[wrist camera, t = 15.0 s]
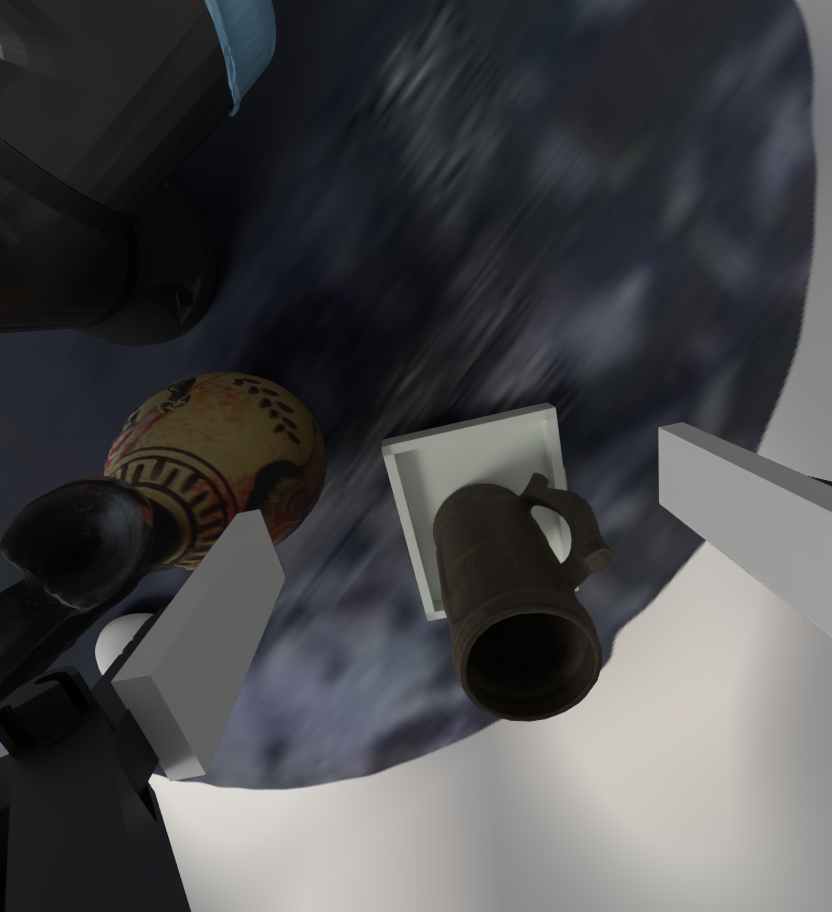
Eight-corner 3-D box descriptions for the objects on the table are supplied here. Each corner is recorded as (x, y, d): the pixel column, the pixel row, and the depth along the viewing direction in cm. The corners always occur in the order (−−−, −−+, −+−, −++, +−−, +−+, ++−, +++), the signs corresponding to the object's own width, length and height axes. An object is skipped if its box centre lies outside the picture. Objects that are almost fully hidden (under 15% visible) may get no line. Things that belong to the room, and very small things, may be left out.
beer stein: (500, 588, 49) (570, 748, 30) (414, 557, 48) (428, 705, 28) (563, 469, 46) (686, 562, 26) (472, 431, 44) (533, 502, 25)
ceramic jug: (238, 326, 40) (-166, 362, 12) (368, 429, 44) (296, 649, 15) (147, 457, 44) (-322, 722, 16) (272, 543, 48) (73, 886, 19)
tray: (426, 606, 51) (427, 621, 48) (382, 439, 44) (381, 446, 42) (573, 576, 50) (581, 590, 47) (550, 401, 43) (558, 406, 41)
